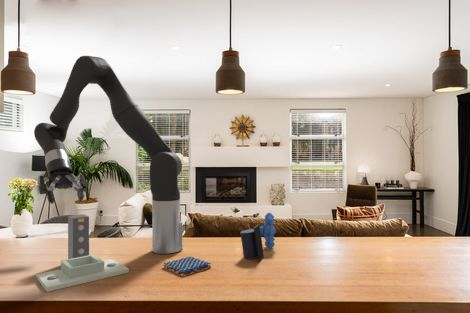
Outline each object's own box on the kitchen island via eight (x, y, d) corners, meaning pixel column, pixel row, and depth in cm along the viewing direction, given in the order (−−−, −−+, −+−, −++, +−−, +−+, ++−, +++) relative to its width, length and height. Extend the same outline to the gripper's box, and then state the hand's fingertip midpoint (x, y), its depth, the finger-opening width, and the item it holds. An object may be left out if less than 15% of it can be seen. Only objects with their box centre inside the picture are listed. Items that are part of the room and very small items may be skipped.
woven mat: (190, 261, 103) (190, 254, 103) (212, 269, 95) (212, 262, 95) (160, 269, 95) (160, 262, 95) (182, 279, 88) (182, 271, 88)
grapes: (257, 243, 122) (257, 210, 122) (275, 243, 122) (275, 210, 122) (257, 252, 110) (256, 216, 110) (277, 252, 110) (277, 216, 110)
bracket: (112, 262, 101) (112, 250, 101) (128, 272, 92) (128, 259, 92) (36, 278, 88) (36, 264, 88) (46, 291, 78) (46, 277, 79)
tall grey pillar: (83, 259, 103) (83, 214, 103) (89, 263, 99) (89, 216, 99) (68, 262, 100) (68, 216, 100) (73, 266, 96) (72, 218, 96)
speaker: (270, 256, 104) (266, 223, 105) (259, 262, 100) (255, 227, 100) (250, 254, 109) (247, 223, 109) (240, 260, 105) (236, 227, 105)
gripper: (36, 157, 111) (44, 195, 102) (82, 157, 120) (92, 192, 111) (33, 172, 115) (40, 210, 106) (77, 171, 124) (87, 206, 115)
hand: (67, 200), depth 109 cm, fingers open, 8 cm apart
